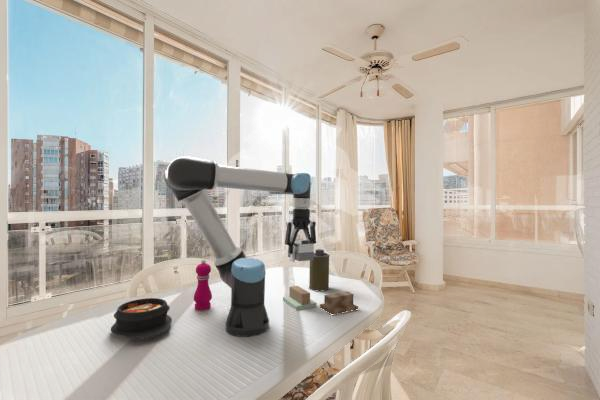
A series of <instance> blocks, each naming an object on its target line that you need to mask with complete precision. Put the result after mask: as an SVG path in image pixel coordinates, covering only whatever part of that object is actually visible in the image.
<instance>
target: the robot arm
mask: <svg viewBox="0 0 600 400" xmlns="http://www.w3.org/2000/svg"><path fill="white" fill-rule="evenodd" d="M164 181H165V185H166V186H167V187H168V188H169V189H171V191H172V193H173V195H174V196H175V198H176V200H177V201H178V203H181V204H184V205H185V206H186V208H187V210H188V212H189V214H190V215H191V217H192V219H193V220H194V223H195V224H196V226H197V228H198V230H199V231H200V233H201V235H202V237H203V238H204V239H205V243H207V246H208V247H209V249H210V250H211V252H212V254H213V255H214V257H215V259H214V264H213V265H214V266H215V267H216V269H217V271H218V274H219V278H220V279H221V280H222V282H223V283H224V284H225V285H227V286H228V287H229V288H230V290H231V293H230V294H231V296H230V297H231V298H230V308H229V312H228V315H227V317H226V320H225V331H226V332H227V333H228V334H230V335H232V336H237V337H252V336H257V335H261V334H264V333H265V332H267V330H268V329H269V327H270V319H269V316H268V312H267V309H266V305H265V297H266V296H265V292H266V291H265V290H266V288H265V287H266V286H265V285H266V273H267V272H266V266H265V263H264V262H263V261H262V260H261V259H258V258H253V257H247V256H246V255H245V252H244V250H243V249H242V248H241V247H237V246H236V244H235V241H233V239H232V237H231V235H230V233H229V232H228V230H227V228H226V227H225V224H224V222H223V221H222V219H221V217H220V215H219V213H218V212H217V210H216V208H215V206H214V204H213V202H212V200H211V199H210V197H209V195H208V194H207V193H208V190H214V189H215V188H222V189H223V188H225V189H233V190H234V189H235V190H236V189H237V190H238V189H239V190H248V191H260V192H268V193H269V194H271V195H273V194H274V195H292V197H293V199H292V207H293V209H292V221H291V220H290V221H286V231H285V239H284V245H287V247H288V246H289V253H290V254H291V255H290V257H289V259H290V260H289V261H291V262H292V263H295V261H296V260H295V246H293V245H294V242H295V241H296V239H297V237H298V234H299V232H300V231H303V233H304V236H305V240H308V242H309V243H313V244H314V245H315V244H317V236H316V235H317V234H316V224H317V223H316V221H312V220H310V218H311V209H310V207H311V186H312V182H311V174H309V173H307V172H306V173H305V172H295V173H288V172H287V173H284V172H279V171H270V170H263V169H255V168H254V169H253V168H246V167H239V166H238V167H237V166H231V165H223V164H222V165H221V164H218V163H217V162H216V161H215V160H208V159H203V158H198V157H193V156H180V157H177V158H175V159H174V160H172V161H171V162H170V163H169V164H168V165H167V167H166V168H165V171H164ZM292 227H293V228H292Z"/></svg>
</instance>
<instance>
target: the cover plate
mask: <svg viewBox="0 0 600 400" xmlns="http://www.w3.org/2000/svg"><path fill="white" fill-rule="evenodd" d="M293 246H295V252H298V253H305V252H314V253H315V250H314V249H315V244H313V243H309V242H308V240H306V239H305V240H304V239H302V240H295V242H294V245H293ZM287 249H289V246H288V245H287Z"/></svg>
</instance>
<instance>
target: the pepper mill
mask: <svg viewBox="0 0 600 400" xmlns="http://www.w3.org/2000/svg"><path fill="white" fill-rule="evenodd" d="M206 262H207V261H206V260H205V259H202V260H201V263H199V264H197V266H196V267H195V273H196V274H197V275H196V279H197V285H196V286H197V287H196V289H195V291H194V294H193V301H194V302H195V303H194V309H195V310H196V311H207V310H209V309H211V307H212V305H211V300H212V298H213V294H212V291H211V289H210V285H209V279H210V278H211V277H210V273H211V271H212V268H211V265H210V264H209V263H206Z"/></svg>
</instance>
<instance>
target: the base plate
mask: <svg viewBox="0 0 600 400" xmlns="http://www.w3.org/2000/svg"><path fill="white" fill-rule="evenodd" d="M287 249H288V248H287ZM314 253H315V251H314V252H305V253H298V252H295V261H298V262H306V261H310V260H314ZM290 255H291V254H290V253H289V249H288V250H287V257H288V258H290Z"/></svg>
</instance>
